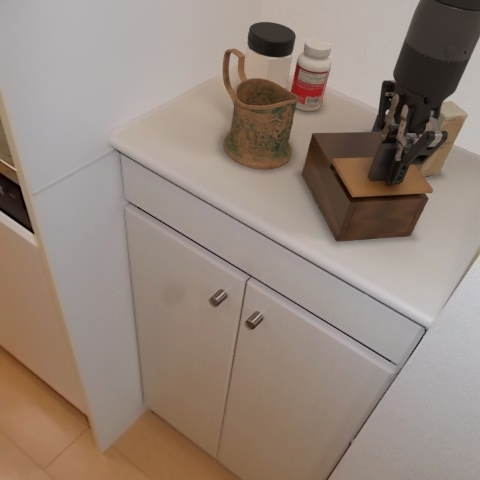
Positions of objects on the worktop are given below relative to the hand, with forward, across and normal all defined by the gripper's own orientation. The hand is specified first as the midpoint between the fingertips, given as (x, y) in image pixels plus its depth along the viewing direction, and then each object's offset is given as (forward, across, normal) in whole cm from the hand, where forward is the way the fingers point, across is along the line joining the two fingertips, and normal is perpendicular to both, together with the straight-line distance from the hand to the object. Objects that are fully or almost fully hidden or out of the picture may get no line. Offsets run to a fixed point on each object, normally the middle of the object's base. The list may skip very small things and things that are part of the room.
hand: (386, 174), depth 71 cm
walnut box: (+9, +5, 0) cm, 10 cm away
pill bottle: (+9, +35, -2) cm, 36 cm away
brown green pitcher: (+9, +24, +12) cm, 28 cm away
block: (+9, +22, -13) cm, 27 cm away
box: (+9, +13, -16) cm, 23 cm away
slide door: (+1, +1, 0) cm, 2 cm away
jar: (+9, +37, +6) cm, 39 cm away
